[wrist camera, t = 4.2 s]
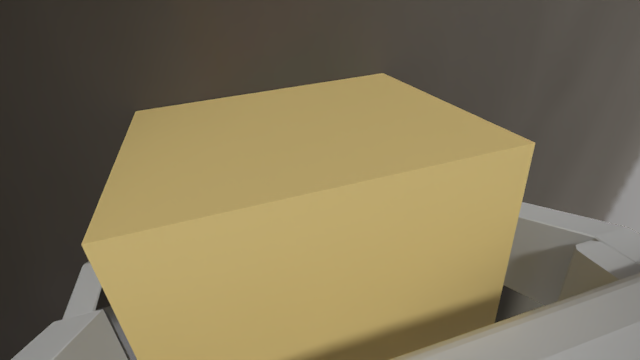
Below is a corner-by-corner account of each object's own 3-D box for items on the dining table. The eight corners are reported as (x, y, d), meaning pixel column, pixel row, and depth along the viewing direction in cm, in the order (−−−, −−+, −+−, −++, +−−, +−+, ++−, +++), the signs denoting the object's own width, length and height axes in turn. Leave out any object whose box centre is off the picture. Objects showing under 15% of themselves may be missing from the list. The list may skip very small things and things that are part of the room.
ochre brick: (135, 111, 8) (81, 245, 4) (383, 73, 10) (535, 142, 5) (198, 303, 11) (204, 498, 7) (380, 253, 13) (479, 390, 8)
